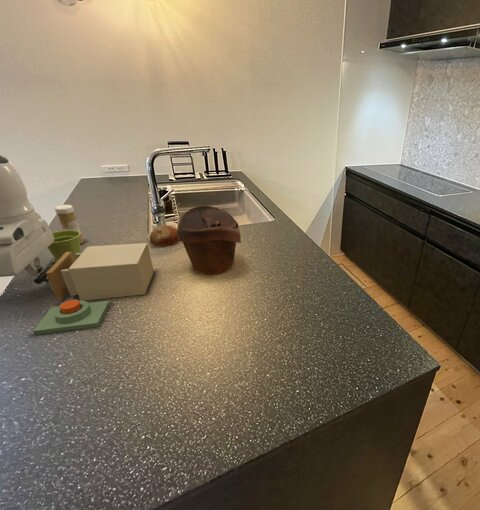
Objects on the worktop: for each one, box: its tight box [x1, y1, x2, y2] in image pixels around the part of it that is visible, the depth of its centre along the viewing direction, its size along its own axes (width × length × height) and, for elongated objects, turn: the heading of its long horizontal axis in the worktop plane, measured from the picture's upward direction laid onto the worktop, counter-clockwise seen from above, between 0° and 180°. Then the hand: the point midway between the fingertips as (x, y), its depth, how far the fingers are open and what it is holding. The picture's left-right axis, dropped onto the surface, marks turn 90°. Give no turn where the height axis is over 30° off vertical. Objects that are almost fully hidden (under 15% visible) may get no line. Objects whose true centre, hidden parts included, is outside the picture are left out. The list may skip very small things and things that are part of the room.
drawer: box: [33, 252, 83, 300], centre depth 83 cm, size 18×12×8 cm, turn 109°
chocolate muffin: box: [176, 205, 242, 275], centre depth 97 cm, size 18×20×18 cm
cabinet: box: [69, 242, 155, 302], centre depth 85 cm, size 15×13×10 cm
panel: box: [32, 299, 111, 336], centre depth 73 cm, size 12×9×3 cm
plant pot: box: [47, 229, 82, 262], centre depth 95 cm, size 9×9×9 cm
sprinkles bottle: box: [54, 204, 85, 245], centre depth 104 cm, size 5×5×14 cm
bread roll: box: [149, 224, 180, 247], centre depth 113 cm, size 10×10×8 cm
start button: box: [59, 299, 81, 314], centre depth 72 cm, size 4×4×2 cm
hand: (36, 273), depth 79 cm, fingers closed, pressing on drawer
